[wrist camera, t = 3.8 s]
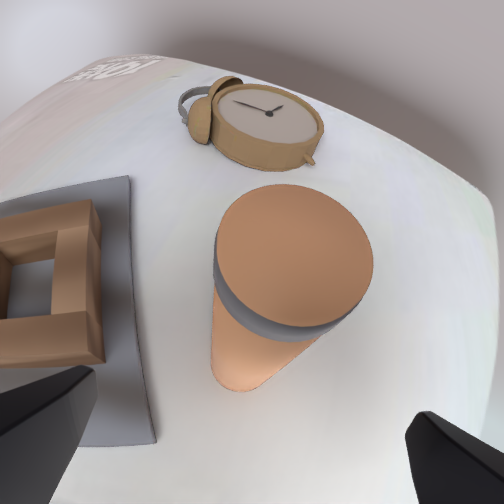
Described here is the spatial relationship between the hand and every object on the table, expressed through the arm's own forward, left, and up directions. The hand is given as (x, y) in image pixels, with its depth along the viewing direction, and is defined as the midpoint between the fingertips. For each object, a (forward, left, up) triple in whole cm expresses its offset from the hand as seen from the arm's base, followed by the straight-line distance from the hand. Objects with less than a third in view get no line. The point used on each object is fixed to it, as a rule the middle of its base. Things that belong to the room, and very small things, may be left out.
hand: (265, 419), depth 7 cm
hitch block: (+9, +12, -10) cm, 18 cm away
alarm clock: (+25, -7, -11) cm, 29 cm away
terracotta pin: (+3, -1, -10) cm, 11 cm away
